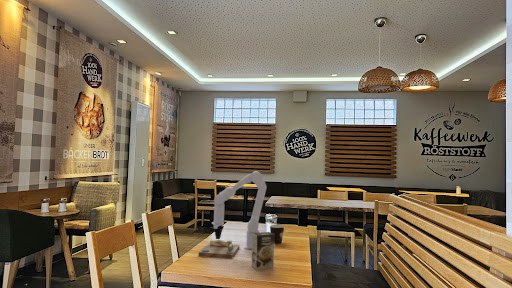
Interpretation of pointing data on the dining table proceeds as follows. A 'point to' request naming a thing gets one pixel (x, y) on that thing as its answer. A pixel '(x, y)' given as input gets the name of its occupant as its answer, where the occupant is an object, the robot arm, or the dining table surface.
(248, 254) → the dining table surface
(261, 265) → the coffee box
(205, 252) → the wooden serving board
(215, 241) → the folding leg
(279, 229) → the coffee mug
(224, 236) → the dining table surface
